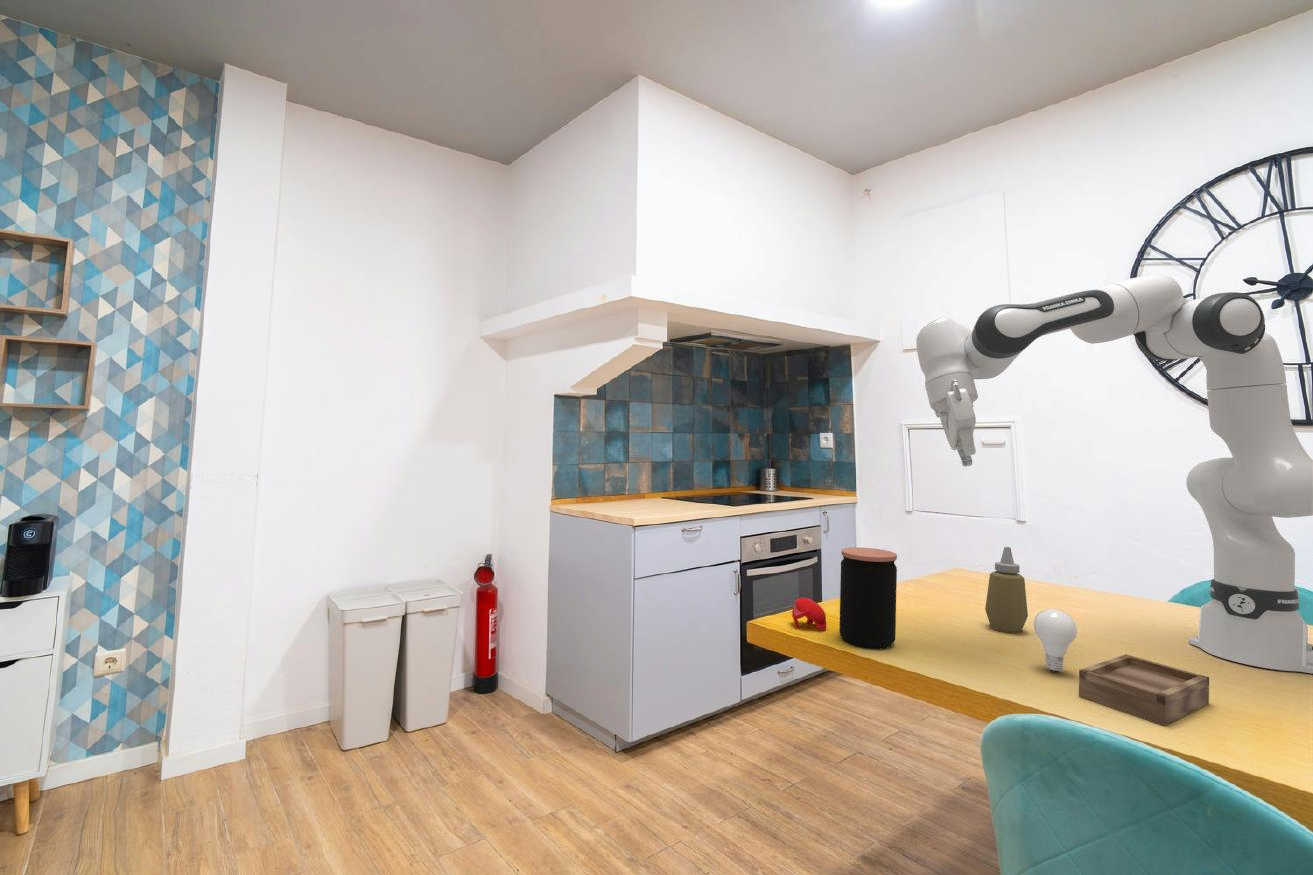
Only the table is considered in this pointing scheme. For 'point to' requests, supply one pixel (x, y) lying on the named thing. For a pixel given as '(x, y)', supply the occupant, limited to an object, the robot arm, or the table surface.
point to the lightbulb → (1055, 635)
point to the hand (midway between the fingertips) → (969, 460)
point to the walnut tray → (1144, 688)
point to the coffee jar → (868, 597)
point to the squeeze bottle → (1006, 596)
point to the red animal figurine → (809, 613)
